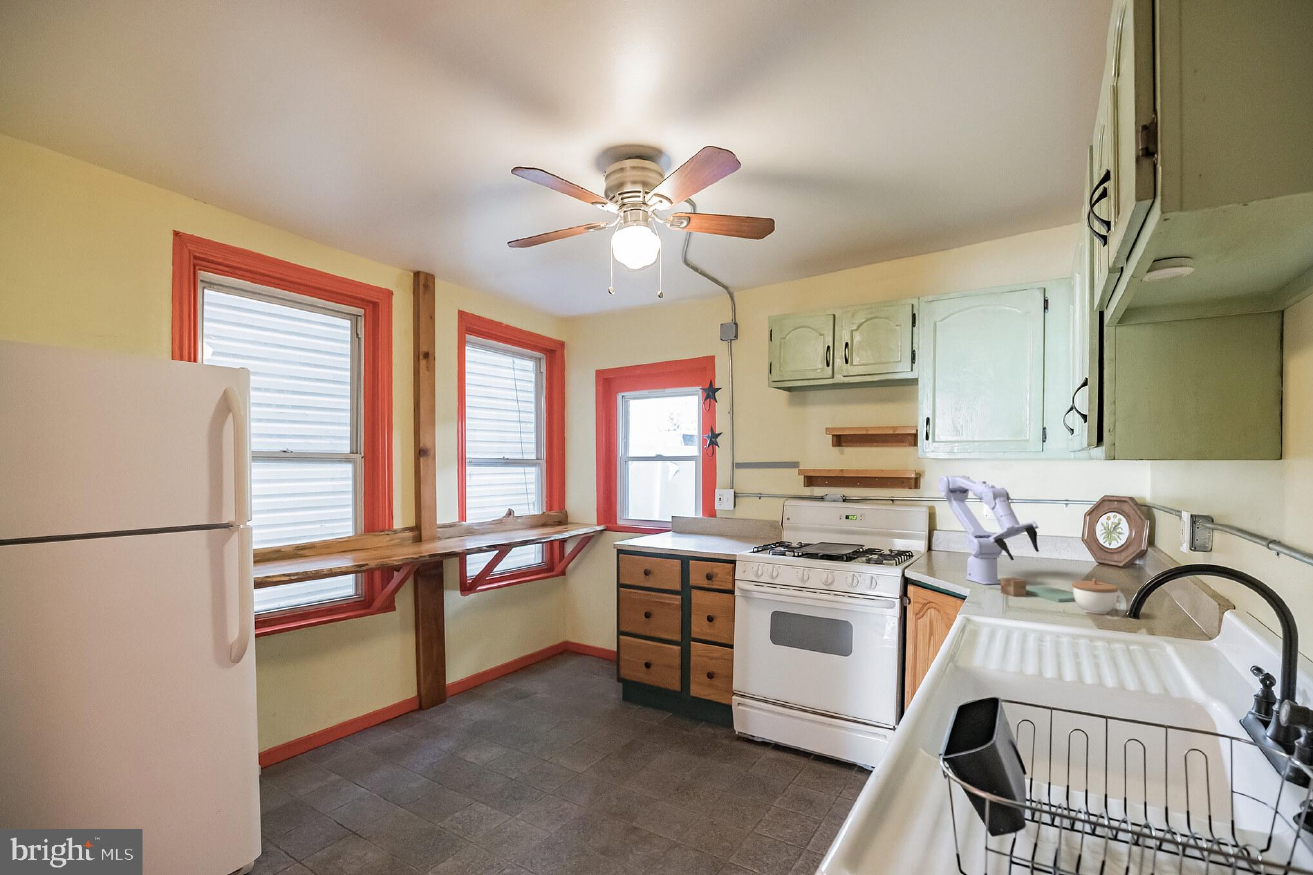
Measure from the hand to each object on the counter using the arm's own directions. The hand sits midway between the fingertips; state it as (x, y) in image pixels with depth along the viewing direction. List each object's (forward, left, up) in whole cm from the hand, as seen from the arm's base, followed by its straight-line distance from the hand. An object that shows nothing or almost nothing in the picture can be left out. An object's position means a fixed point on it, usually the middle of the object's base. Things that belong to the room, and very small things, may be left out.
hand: (1024, 554), depth 196 cm
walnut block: (-3, -2, -13) cm, 14 cm away
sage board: (+1, +9, -13) cm, 16 cm away
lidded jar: (+20, +4, -13) cm, 25 cm away
